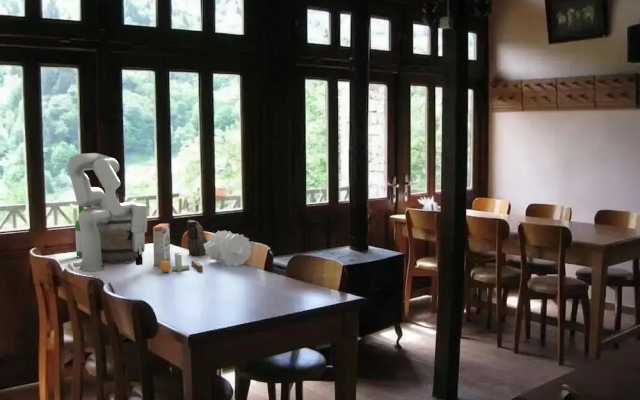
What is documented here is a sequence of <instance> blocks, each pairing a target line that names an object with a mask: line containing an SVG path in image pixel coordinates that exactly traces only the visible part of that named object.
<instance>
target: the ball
mask: <svg viewBox="0 0 640 400" xmlns="http://www.w3.org/2000/svg"><path fill="white" fill-rule="evenodd" d="M158 268H159V270H160V271H161V272H162V273H168V272H170V271H171V270H172V264H171V261H162V262H161V263H160V265H159V266H158Z"/></svg>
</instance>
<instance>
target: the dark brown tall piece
mask: <svg viewBox="0 0 640 400" xmlns="http://www.w3.org/2000/svg"><path fill="white" fill-rule="evenodd" d="M186 225H187V226H186V228H187V235H186V236H187V249H188V254H189V255H188V256H192V257H198V258H199V257H200V258H202V257H203V256H208V255H207V254H206V253H205V252H206V251H205V248H204V245H203V244H205V243H207V242H209V241H208V240H207V237H206V234H205V231H204V229H203V227H202V225H201V224H200V223H199V222H198V221H196V220H193V219H192V220H191V219H189V220H187V221H186Z"/></svg>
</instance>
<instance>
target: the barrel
mask: <svg viewBox="0 0 640 400" xmlns="http://www.w3.org/2000/svg"><path fill="white" fill-rule="evenodd" d="M109 212H110V211H109ZM97 228H98V230H99V232H100V236H101V256H102V264H119V263H129V262H134V261H135V262H136V252H134V251H133V249H132V245H133V232H131V217H126V218H122V219H118V218H115V217H114V216H113V215H112V214H111V212H110V220H109V222H108V223H106V224H104V225H99V226H97Z"/></svg>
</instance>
